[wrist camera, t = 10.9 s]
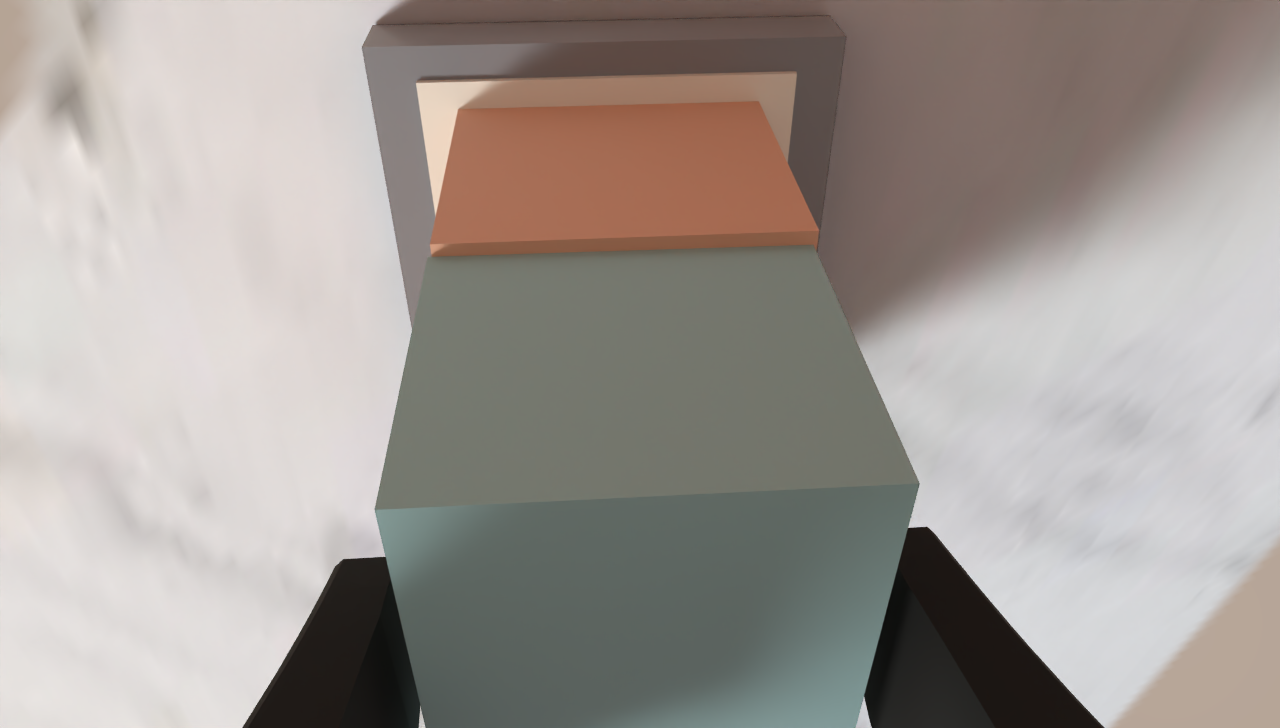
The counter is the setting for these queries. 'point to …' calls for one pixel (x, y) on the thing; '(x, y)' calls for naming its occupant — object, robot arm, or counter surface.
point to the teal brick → (640, 493)
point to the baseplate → (590, 91)
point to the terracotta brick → (617, 181)
